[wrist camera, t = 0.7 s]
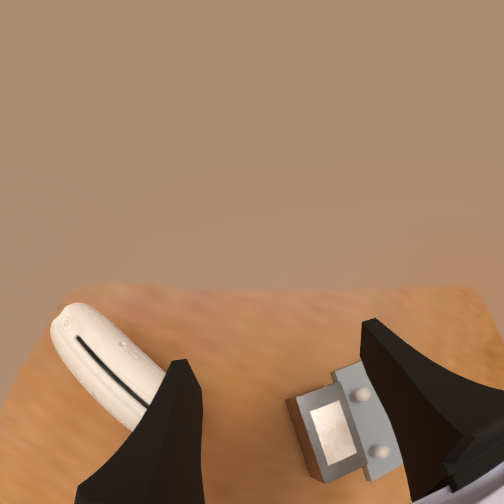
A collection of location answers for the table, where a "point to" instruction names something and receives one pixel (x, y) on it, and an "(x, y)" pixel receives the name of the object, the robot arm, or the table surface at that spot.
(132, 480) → the robot arm
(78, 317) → the photo printer
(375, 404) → the grey mounting plate
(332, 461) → the block
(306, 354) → the table surface
